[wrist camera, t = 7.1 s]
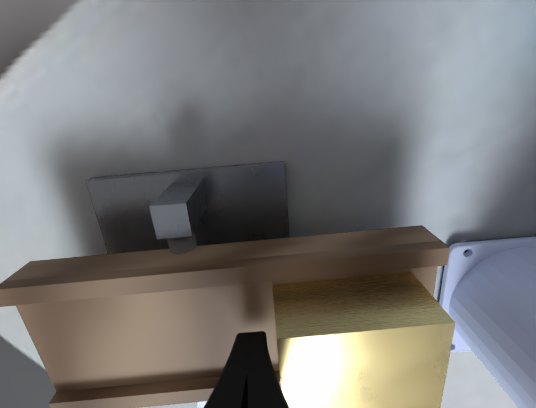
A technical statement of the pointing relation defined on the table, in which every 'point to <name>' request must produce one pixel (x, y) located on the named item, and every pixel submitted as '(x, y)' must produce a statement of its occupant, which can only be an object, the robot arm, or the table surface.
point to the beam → (184, 308)
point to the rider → (362, 343)
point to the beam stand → (191, 207)
